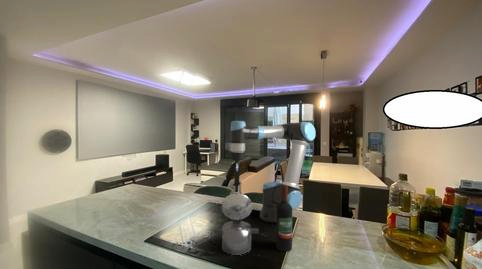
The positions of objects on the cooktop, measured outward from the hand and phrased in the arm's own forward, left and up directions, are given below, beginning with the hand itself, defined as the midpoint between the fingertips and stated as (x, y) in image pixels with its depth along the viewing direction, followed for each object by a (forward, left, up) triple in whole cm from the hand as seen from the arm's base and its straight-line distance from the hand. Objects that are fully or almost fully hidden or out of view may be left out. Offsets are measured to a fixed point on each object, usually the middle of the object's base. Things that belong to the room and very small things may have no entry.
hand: (236, 197), depth 106 cm
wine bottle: (+5, +23, -23) cm, 33 cm away
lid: (0, 0, -5) cm, 5 cm away
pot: (+5, 0, -22) cm, 23 cm away
